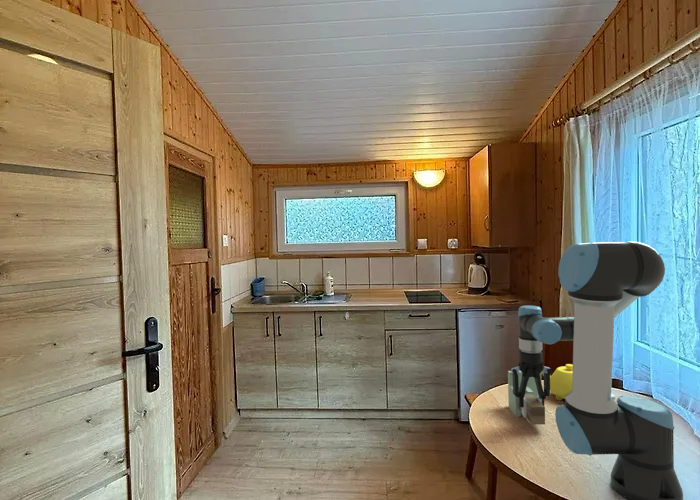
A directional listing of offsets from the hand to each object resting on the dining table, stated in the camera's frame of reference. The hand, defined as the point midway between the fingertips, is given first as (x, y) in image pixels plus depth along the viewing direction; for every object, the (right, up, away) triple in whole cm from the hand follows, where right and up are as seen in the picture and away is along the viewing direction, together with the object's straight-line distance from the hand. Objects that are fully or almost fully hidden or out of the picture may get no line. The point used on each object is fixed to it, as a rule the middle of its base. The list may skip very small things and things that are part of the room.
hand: (531, 415), depth 145 cm
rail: (0, 0, +3) cm, 3 cm away
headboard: (+4, -3, +11) cm, 12 cm away
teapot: (+24, -2, +23) cm, 33 cm away
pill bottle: (+27, -2, 0) cm, 27 cm away
